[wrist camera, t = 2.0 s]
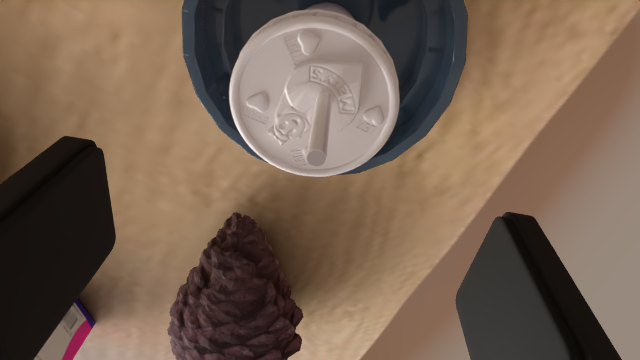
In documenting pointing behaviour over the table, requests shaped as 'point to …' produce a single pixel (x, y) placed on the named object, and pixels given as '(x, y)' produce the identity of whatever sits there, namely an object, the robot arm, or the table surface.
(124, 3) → the table surface
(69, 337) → the supplement box
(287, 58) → the smoothie
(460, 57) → the dish
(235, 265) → the pine cone
